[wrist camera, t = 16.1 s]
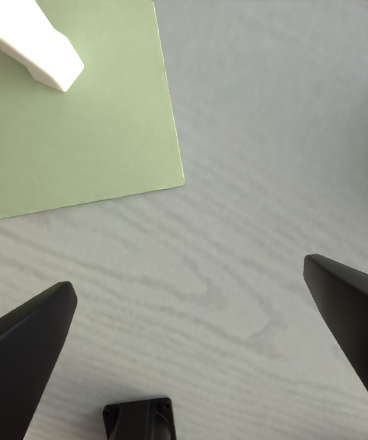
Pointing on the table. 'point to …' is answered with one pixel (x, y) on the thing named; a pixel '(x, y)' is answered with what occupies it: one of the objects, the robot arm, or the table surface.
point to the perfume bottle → (37, 44)
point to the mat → (89, 114)
